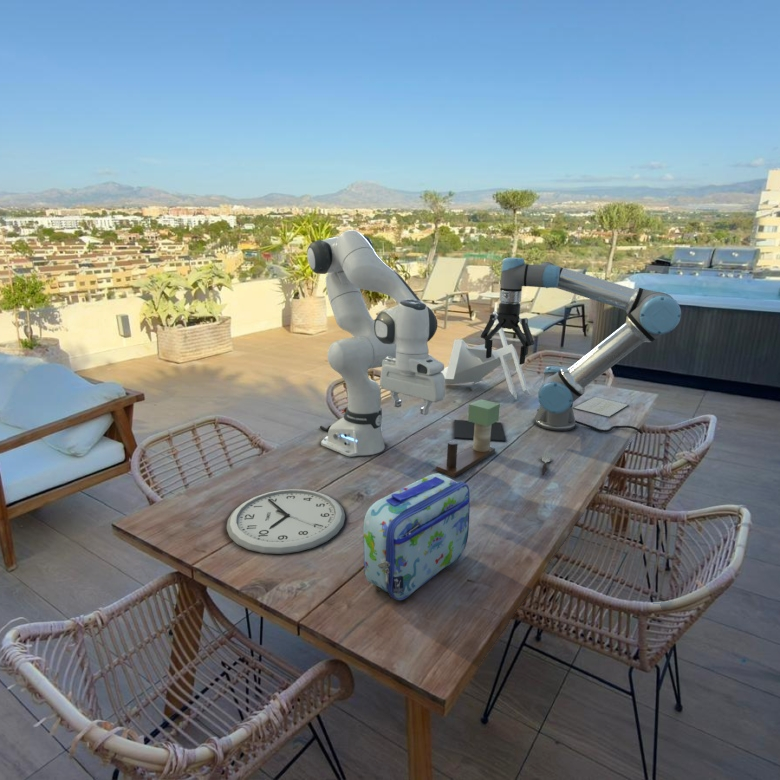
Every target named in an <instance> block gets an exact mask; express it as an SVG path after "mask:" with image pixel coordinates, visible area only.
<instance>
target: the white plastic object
mask: <svg viewBox="0 0 780 780" xmlns="http://www.w3.org/2000/svg"><path fill="white" fill-rule="evenodd" d="M492 314H496V315H498V314H499V313H498V312H497V311H496V310H495V311H492ZM498 323H499V322H498V320H497V319H496V320H495V324H496V325H497V324H498ZM496 325H495V326H496ZM498 335H499V338H500V342H501V345H502V347H500V348H498V349H496V350H495V349H492V354H491V357H490V358H486V350H487V349H485V343H483V344H479V345H473V346H469V345H468V343H466V342H465V340H464V339H463V338H460V339H458V338H454V340H453V344H452V349H451V353H450V357H449V362H448V366H446V367H444V370H443V371H441V372H442V373H443V375H444V378H445V386H449V385H458V384H467V383H468V384H469V383H473V384H477V383H480V382H482V381H484V378H485V377H486V376H487V375H489V374H490V373H492V372H494V371H495V370H496V369H497V368H499V367H500V366H502V370H503V373H504V376H505V380H506V383H507V386H508V390H509V393H510V394H511V395H512V397H513V398H514V399H515V400H517V392H516V391H517V390H516V388H515V385H514V381H513V378H512V375H511V371H510V369H509V365H508V361H510V360H513V363H514V366H515V369H516V372H517V376H518V380H519V382H520V385H521V389H522V391H523V393H524V395H525V396H526V397H528V396H531V395H530V390H529V388H528V387H529V386H528V384H527V381H526V378H525V375H524V371H523V369H522V368H523V367H522V366H521V364H519V362H520V358H519V355H518V352H517V349H516V347H515V346H514V345H513V343H511V344H508V341H507V337H506V334H505V331H504V328H501V329H500V330H499V331H498Z"/></svg>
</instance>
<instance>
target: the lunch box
mask: <svg viewBox="0 0 780 780" xmlns="http://www.w3.org/2000/svg"><path fill="white" fill-rule="evenodd" d="M470 497H471V496H470V488H469V485H468V484H467V483H466V482H461V481H460V482H458V481H455V480H454V479H452V478H450V477H448V476H446V475H445V474H443V473H440V472H437V473H432V474H429V475H427V476H424V477H423V478H421V479H418V480H417V481H414V482H412V483H410V484H408V485H406V486H404V487H402V488H400V489H398V490H396V491H394V492H392V493H390V494H388V495H386V496H383V497H382V498H380V499H378V500H376V501H375V502H373V503H372V504H371V505H370V506H369V508H368V510H367V511H366V513H365V516H364V520H363V528H362V529H363V531H362V532H363V533H362V534H363V536H362V537H363V566H364V567H363V569H364V576H365V579H366V581H367V582H368V583H370V584H372V585H374V586H376V587H378V588H380V589H381V590H383V591H384V592H386V593H387V594H388V595H389V596H390V597H391V598H393V599H395V600H396V601H404V600H405V599H407V598H409V597H410V596H411V595H412V594H413V593H414V592H416V591H417V590H418V589H419V588H421V587H422V586H424V585H425V584H426V583H428V582H429V581H430V580H431V579H432V578H434V577H435V576H437V574H439V572H441V571H442V570H444V569H445V568H447V567H448V566H450V565H452V564H453V563H454V562H455V561H457V560H458V559H459V558H460V557H461V555H462V554H463V552H464V550H465V549H466V546H467V543H468V539H469V529H470V527H469V526H470V511H471V509H470V507H471V504H470V503H471V501H470Z"/></svg>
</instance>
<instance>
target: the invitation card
mask: <svg viewBox="0 0 780 780" xmlns="http://www.w3.org/2000/svg"><path fill="white" fill-rule="evenodd" d="M628 406H629V404H627V403H623V402H618V401H614V400H609V399H605V398H601V397H596V396H593V397H592V398H590V399H588V400H586V401H584V402H582V403H580V404H578V405H575V406H574V407H573V409H575V410H581V411H584V412H587V413H593V414H596V415H600V416H604V417H608V418H609V417H611V416H613V415H614V414H616V413H617V412H619V411H621V410H623V409H624V408H626V407H628Z"/></svg>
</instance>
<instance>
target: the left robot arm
mask: <svg viewBox="0 0 780 780" xmlns="http://www.w3.org/2000/svg"><path fill="white" fill-rule="evenodd" d="M306 258H307V259H306V260H307V263H308V265H309V268H310V269H311V271H313V273H314V274H319V275H326V274H327V275H326V276H325V287H326V292H327V297H328V301H329V304H330V307H331V311H332V314H333V316H334V319H335V322H336V324H337V326H338V327H339V328H340V329H341V330H343V331H345V332H348V333H350V335H352V337H344V338H341V339H338V340H337V341H333V342H332V343H331V344H330V345H329V347H328V349H327V353H326V354H327V362H328V365H329V366H330V368H331V369H332V370H334V371H335V372H336V373H338V374H339V375H340V376H341V378H342V379H343V381H344V383H345V387H346V393H347V394H346V395H347V406H346V407H344V408H343V409H342V410H341V413H340V414H341V415H342V414H343V416H342V417H341V418H340V419H338V420H337V421H335V422H334V423H333V424H331V425H329V426H327V428H326V427H324V426H323V425H320V426H319V429H321V430H323V431H324V432H327V435H326V436H325V437H324V438H323V439H321V441H320V445H321V446H322V447H324V448H327V449H329V450H331V451H334V452H336V453H338V454H341V455H343V456H346V457H349V458H353V457H358V456H372V455H377V454H379V453H381V452H383V451H384V450H385V449H386V445H385V442H384V437H383V431H382V421H383V411H382V410H383V409H382V407H381V405H382V403H381V402H382V401H381V400H382V390H386V391H389V395H390V397H391V399H392V401H393V407H395V408H401V407H402V400H401V399H400V397H399V395H398V394H402V395H405V396H409V397H413V398H417V399H419V400H423V404H424V405H423V406H422V407H420V409H419V413H420V415H423V416H427V415H429V409H430V407H431V406H432V404H433V403H438V402H441V401H443V400H444V399H445V396H446V385H445V378H444V375H443V373H442V372H441V371H443V370H444V368H445V364H444V363H443V362H442V361H440V360H438V359H436V358H434V357H433V356H432V355H431V354H430V351H429V345H428V342H430V341H431V340H432V338H433V337H434V336H435V334H436V332H437V330H438V319H437V316H436V315H435V313H434V311H433V310H432V309H431V308H430V307H429V306H427V304H426V303H424V302H423V301H422V300H421V299H420V298H419V297H418V296H417V294H416V292H414V290H413V289H412V288H411V287H410V285H409V284H408V283H407V282H406V281H405V279H404V278H403V277H402V276H401V275H400V273H398V272H397V271H396V270H394V269H393V268H391V267H390V266H388V265H387V264H386V263H385V262H384V261H383V260H382V259H381V258H380V257H379V256H378V254H377V253H376V251H375V249H374V244H373V242H372V240H371V239H370V238H369V236H367V235H365V234H364V235H363V234H362V233H361V232H359V231H358V230H354V229H349V230H348V229H347V230H345V231H343V232H342V233H341V234H339V235H338V236H335V237H329V238H325V239H322V240H321V239H318V240H315V241H312V242H311V243H309V245H308V247H307V253H306ZM361 290H364V291H368V292H374V293H379V294H383V295H386V296H388V297H390V298H392V299H393V300H394V301H395V302H396V304H397V305H396V306H394V307H391V308H389V309H386V310H382V311H380V312H379V313H378V314H377V316H376V317H375V319H373V317H372V316H371V314H370V312H369V309H368V306H367V304H366V301H365V299H364V296H363V293H362V291H361ZM377 368H381V370H380V377H379V378H380V379H379V383H378V382H377V381H376V380H373V379H372V378H370V377H369V374H368V371H369V370H372V369H377Z"/></svg>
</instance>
